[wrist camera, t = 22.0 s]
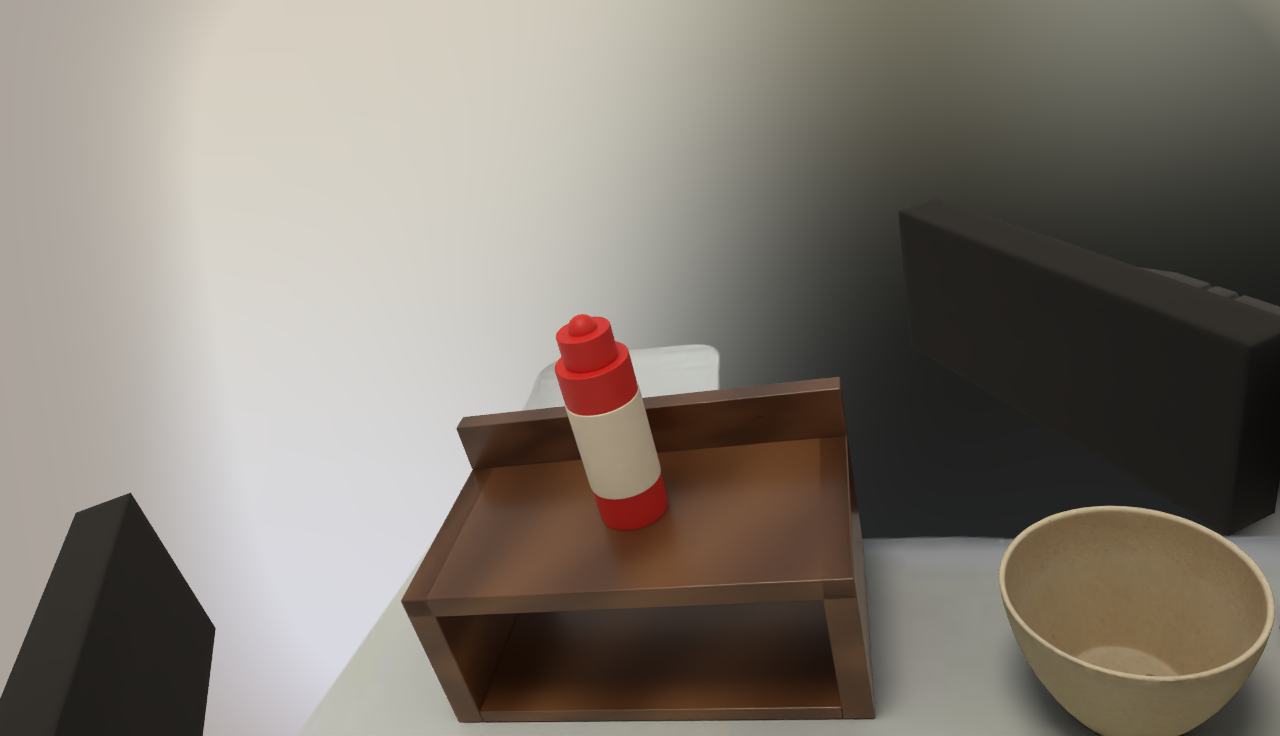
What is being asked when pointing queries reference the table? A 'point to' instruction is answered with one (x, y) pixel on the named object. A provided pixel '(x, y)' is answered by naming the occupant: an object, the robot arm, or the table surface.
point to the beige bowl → (1135, 616)
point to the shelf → (656, 570)
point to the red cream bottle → (610, 424)
